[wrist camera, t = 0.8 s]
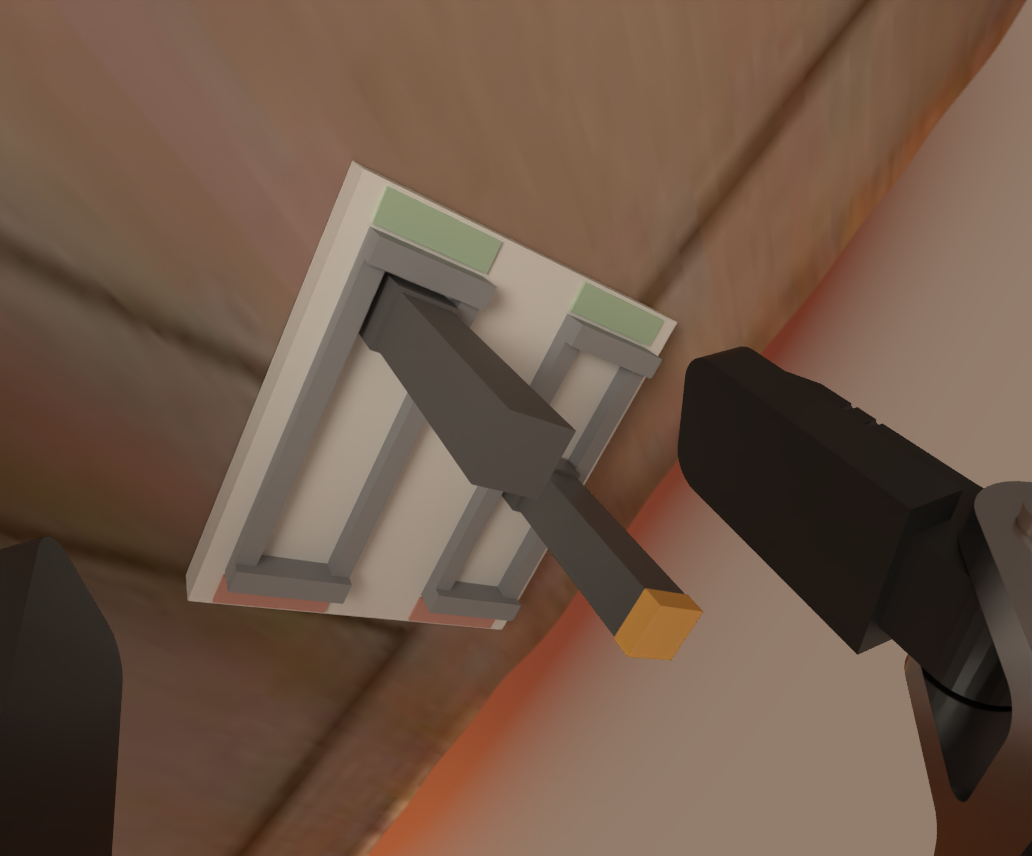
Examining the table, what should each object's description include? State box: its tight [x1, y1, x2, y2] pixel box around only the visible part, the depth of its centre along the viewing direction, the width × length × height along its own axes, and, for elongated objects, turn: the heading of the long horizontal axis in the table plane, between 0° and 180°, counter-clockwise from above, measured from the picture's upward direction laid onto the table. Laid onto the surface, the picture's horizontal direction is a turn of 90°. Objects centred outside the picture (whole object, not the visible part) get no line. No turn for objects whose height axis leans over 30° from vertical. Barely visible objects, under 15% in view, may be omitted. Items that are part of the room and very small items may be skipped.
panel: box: [186, 161, 677, 630], centre depth 32 cm, size 22×19×15 cm
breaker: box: [502, 458, 703, 660], centre depth 34 cm, size 3×3×13 cm
